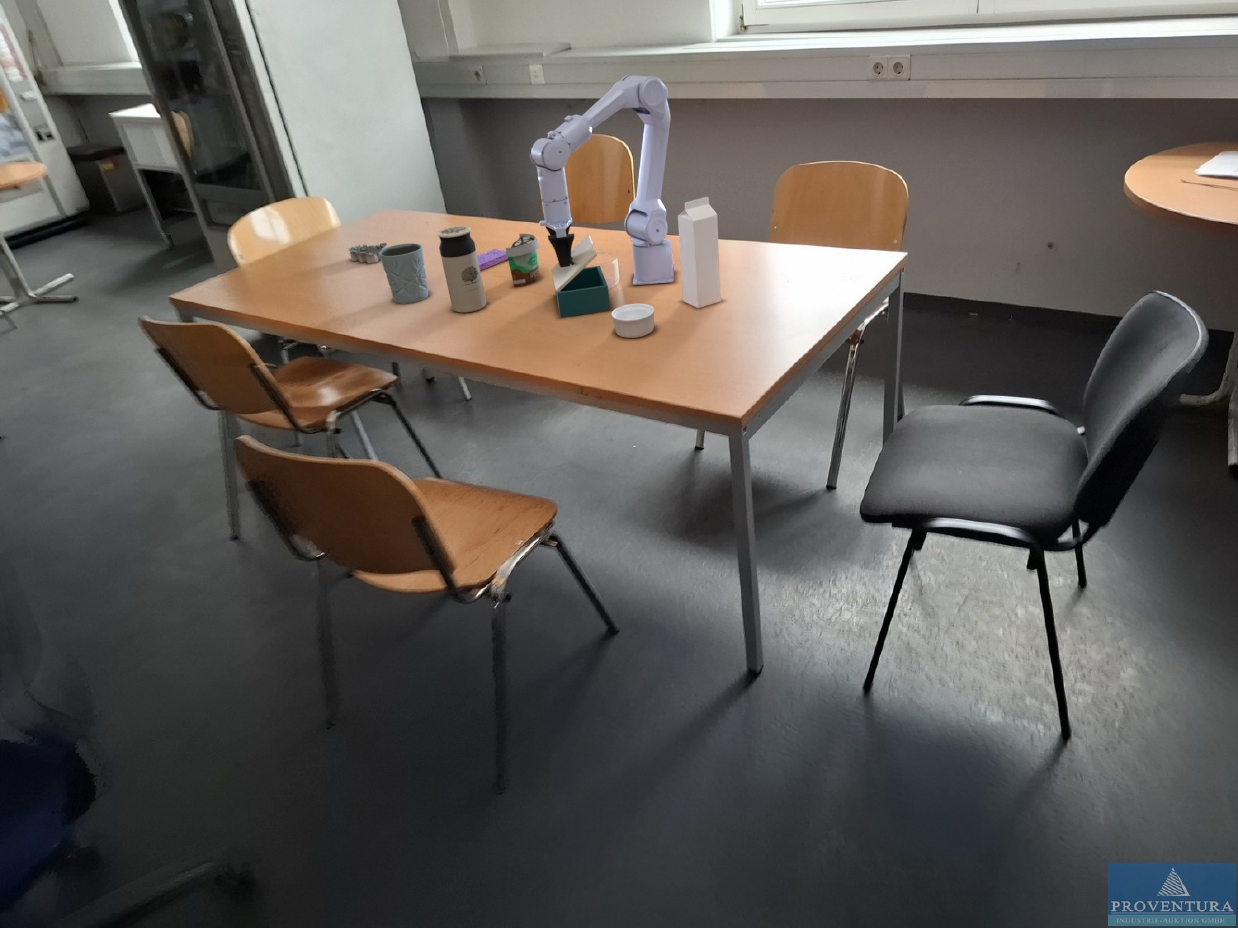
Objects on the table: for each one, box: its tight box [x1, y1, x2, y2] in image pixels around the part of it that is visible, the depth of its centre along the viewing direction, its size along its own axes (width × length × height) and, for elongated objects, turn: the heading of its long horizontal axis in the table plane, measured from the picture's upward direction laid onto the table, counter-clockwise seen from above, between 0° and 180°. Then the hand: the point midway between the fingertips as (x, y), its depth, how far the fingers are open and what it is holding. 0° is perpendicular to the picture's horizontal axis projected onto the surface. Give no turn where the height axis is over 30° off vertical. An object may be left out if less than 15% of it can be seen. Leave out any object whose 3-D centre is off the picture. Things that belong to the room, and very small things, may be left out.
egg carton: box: [346, 242, 388, 264], centre depth 233 cm, size 11×8×4 cm
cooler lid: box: [551, 234, 598, 292], centre depth 181 cm, size 12×15×4 cm
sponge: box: [477, 248, 508, 271], centre depth 219 cm, size 7×13×2 cm, turn 136°
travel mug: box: [436, 225, 487, 314], centre depth 187 cm, size 8×8×18 cm
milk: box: [677, 196, 722, 309], centre depth 174 cm, size 6×6×22 cm
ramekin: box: [610, 303, 655, 339], centre depth 168 cm, size 9×9×4 cm
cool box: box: [554, 265, 612, 319], centre depth 185 cm, size 11×15×6 cm
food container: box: [505, 233, 540, 288], centre depth 201 cm, size 12×6×10 cm, turn 169°
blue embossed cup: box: [379, 242, 429, 305], centre depth 199 cm, size 10×10×12 cm
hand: (563, 261), depth 181 cm, fingers open, 7 cm apart
